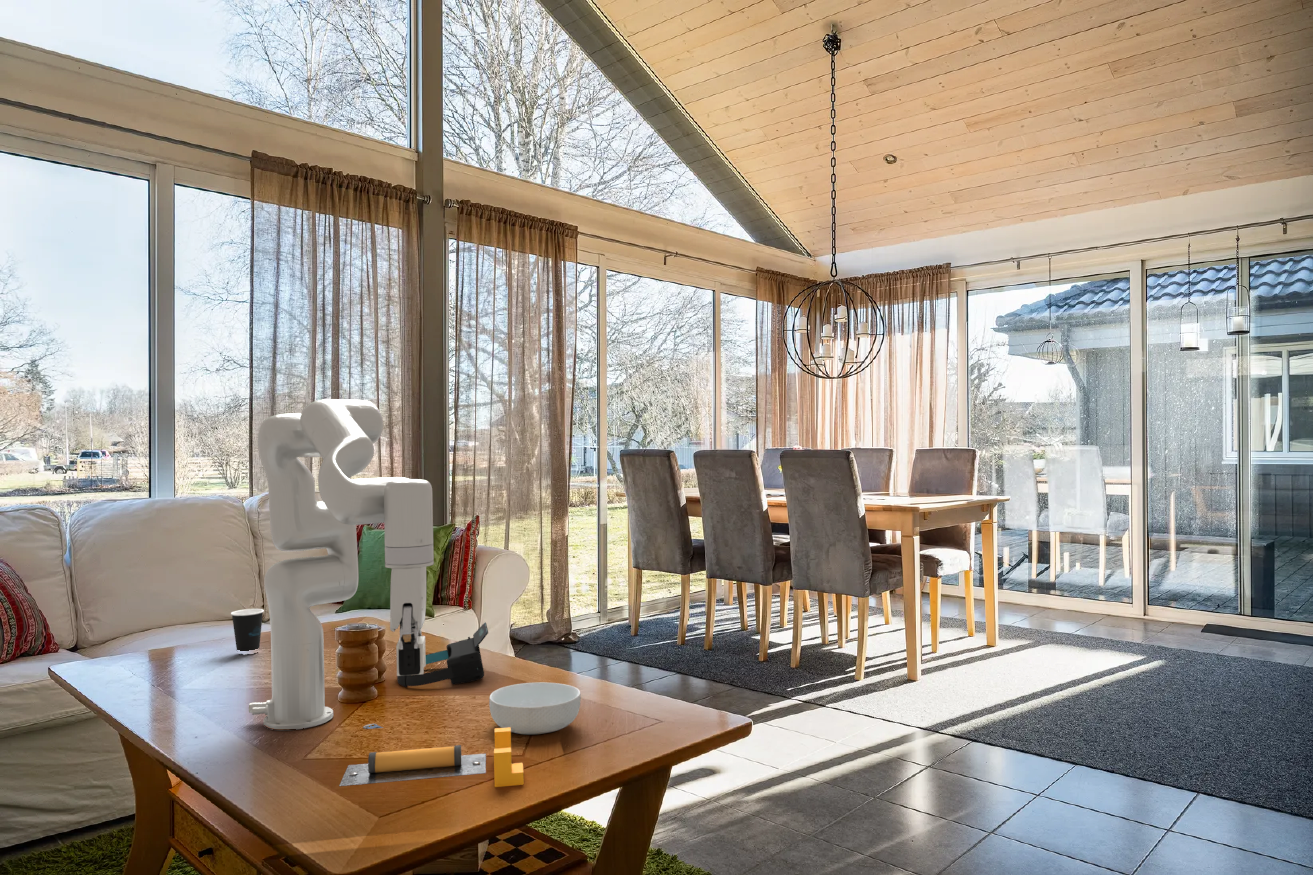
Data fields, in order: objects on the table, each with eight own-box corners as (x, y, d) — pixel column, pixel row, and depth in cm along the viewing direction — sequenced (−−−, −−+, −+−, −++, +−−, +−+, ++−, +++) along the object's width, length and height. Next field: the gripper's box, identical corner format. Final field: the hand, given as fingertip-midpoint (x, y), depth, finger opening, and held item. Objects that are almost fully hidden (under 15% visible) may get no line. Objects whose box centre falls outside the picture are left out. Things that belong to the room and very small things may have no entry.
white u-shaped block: (396, 676, 138) (396, 645, 138) (400, 666, 143) (399, 637, 143) (423, 674, 138) (422, 643, 138) (425, 665, 144) (425, 635, 144)
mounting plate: (339, 794, 134) (339, 784, 134) (348, 772, 143) (348, 764, 143) (485, 780, 138) (485, 771, 138) (486, 760, 147) (485, 752, 147)
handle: (368, 775, 138) (368, 755, 138) (370, 770, 141) (370, 750, 141) (460, 767, 141) (460, 747, 141) (461, 762, 144) (461, 743, 144)
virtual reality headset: (497, 678, 197) (489, 635, 196) (397, 703, 192) (388, 658, 191) (492, 658, 215) (485, 618, 214) (401, 680, 210) (393, 640, 209)
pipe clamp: (523, 793, 133) (522, 751, 133) (494, 796, 133) (493, 753, 133) (522, 765, 145) (521, 726, 145) (495, 768, 144) (494, 728, 144)
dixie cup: (260, 655, 228) (260, 613, 229) (227, 657, 227) (227, 615, 227) (267, 649, 236) (266, 607, 236) (235, 651, 235) (235, 609, 235)
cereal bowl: (555, 751, 151) (554, 710, 151) (472, 742, 157) (471, 702, 157) (596, 721, 167) (595, 684, 167) (518, 714, 173) (518, 678, 173)
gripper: (390, 551, 149) (392, 658, 148) (378, 564, 132) (380, 685, 132) (436, 549, 150) (438, 655, 150) (430, 562, 133) (432, 681, 133)
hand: (411, 668), depth 141 cm, fingers closed on white u-shaped block, 5 cm apart
